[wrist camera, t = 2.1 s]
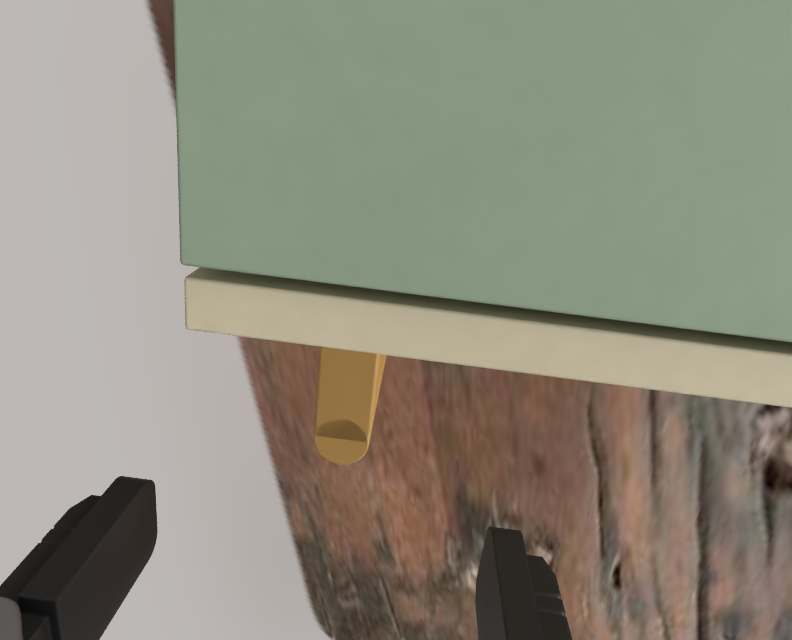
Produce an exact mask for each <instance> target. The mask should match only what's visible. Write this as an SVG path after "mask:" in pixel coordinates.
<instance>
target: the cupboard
mask: <svg viewBox="0 0 792 640" xmlns="http://www.w3.org/2000/svg"><path fill="white" fill-rule="evenodd" d="M173 9H174V45H175V81H176V117H177V150H178V151H177V152H178V187H179V188H178V189H179V223H180V256H181V257H180V260H181V264H183V265H188V266H196V267H203V268H211V269H219V270H227V271H235V272H243V273H251V274H259V275H266V276H274V277H282V278H290V279H298V280H306V281H314V282H321V283H329V284H337V285H345V286H353V287H361V288H369V289H377V290H384V291H392V292H400V293H408V294H416V295H424V296H432V297H439V298H447V299H455V300H463V301H471V302H479V303H487V304H495V305H502V306H510V307H518V308H526V309H534V310H542V311H550V312H557V313H565V314H573V315H581V316H589V317H597V318H605V319H613V320H620V321H628V322H636V323H644V324H652V325H660V326H668V327H675V328H683V329H691V330H699V331H707V332H715V333H723V334H731V335H738V336H746V337H754V338H762V339H770V340H778V341H786V342H792V0H173Z"/></svg>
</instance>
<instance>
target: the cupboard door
mask: <svg viewBox="0 0 792 640" xmlns="http://www.w3.org/2000/svg"><path fill="white" fill-rule="evenodd" d="M185 319H186V329H190V330H197V331H204V332H212V333H221V334H227V335H235V336H243V337H251V338H258V339H266V340H274V341H281V342H289V343H297V344H305V345H312V346H320V357H319V371H318V386H317V400H316V415H315V430H314V443H315V447H316V449H317V451H318V452H319V453H320V455H321V456H323V457H324V458H325V459H326V460H328V461H330V462H333V463H336V464H350V463H354V462H356V461H358V460H359V459H361V458H362V457H363V456H364V455H365V453H366V452H367V450H368V447H369V442H370V437H371V432H372V426H373V421H374V416H375V411H376V406H377V401H378V396H379V391H380V386H381V381H382V376H383V371H384V366H385V361H386V355H390V356H397V357H405V358H413V359H420V360H428V361H436V362H444V363H451V364H459V365H467V366H474V367H482V368H490V369H498V370H505V371H513V372H521V373H528V374H536V375H544V376H552V377H559V378H567V379H575V380H582V381H590V382H598V383H606V384H613V385H621V386H629V387H636V388H644V389H652V390H660V391H667V392H675V393H683V394H690V395H698V396H706V397H714V398H721V399H729V400H737V401H744V402H752V403H760V404H768V405H775V406H783V407H791V408H792V342H786V341H778V340H770V339H762V338H754V337H746V336H738V335H731V334H723V333H715V332H707V331H699V330H691V329H683V328H675V327H668V326H660V325H652V324H644V323H636V322H628V321H620V320H613V319H605V318H597V317H589V316H581V315H573V314H565V313H557V312H550V311H542V310H534V309H526V308H518V307H510V306H502V305H495V304H487V303H479V302H471V301H463V300H455V299H447V298H439V297H432V296H424V295H416V294H408V293H400V292H392V291H384V290H377V289H369V288H361V287H353V286H345V285H337V284H329V283H321V282H314V281H306V280H298V279H290V278H282V277H274V276H266V275H259V274H251V273H243V272H235V271H227V270H219V269H211V268H203V267H200V268H198V269H197V270H195V271H194V272H193V273H191V274H190V275H188V276H187V277H185Z"/></svg>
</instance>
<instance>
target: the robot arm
mask: <svg viewBox="0 0 792 640" xmlns="http://www.w3.org/2000/svg"><path fill="white" fill-rule="evenodd" d="M156 538H157V514H156V494H155V484H154V482H153V481H152V480H147V479H139V478H131V477H124V476H120V477H118V478H116V479H115V481H114V482H113V483H112V484H111V485H110V487H109V488H108V489H107V490H106V491H105V492H104V494H103V495H102V496H94V495H91V496H89V497H88V498H86V499H84V500H83V501H81V502H80V503H78V504H76V505H75V506H73V507H71V508H70V509H69V510H68V511H67V512H66V513H65V515H63V517H62V518H61V519H60V520H59V521H58V522H57V523H56V524H55V526H54V529H51V530H50V531H49V532H48V533H47V534H46V536H45V537H44V538H43V539H42V542H41V543H38V545H37V546H36V547H35V548H34V549H33V550H32V551H31V552H30V553H29V554H28V556H27V557H26V558H25V559H24V560H23V561H22V562H21V563H20V565H19V566H18V567H17V568H16V569H15V570H14V571H13V572H12V573H11V575H10V576H9V577H8V578H7V579H6V580H5V581H4V582H3V584H2V585H1V586H0V640H99V639H100V637H101V636H102V634H103V633H104V631H105V629H106V628H107V626H108V625H109V623H110V621H111V620H112V618H113V617H114V615H115V614H116V612H117V610H118V609H119V607H120V605H121V604H122V602H123V601H124V599H125V597H126V596H127V594H128V592H129V591H130V589H131V588H132V586H133V585H134V583H135V581H136V580H137V578H138V576H139V575H140V573H141V572H142V570H143V569H144V567H145V565H146V564H147V562H148V560H149V559H150V557H151V555H152V552H153V550H154V547H155V543H156ZM476 614H477V626H478V638H479V640H572V637H571V633H570V629H569V626H568V622H567V618H566V617H565V610H564V606H563V602H562V600H561V594H560V591H559V587H558V583H557V579H556V575H555V574H554V573H553V571H552V570H551V568H550V567H549V566H548V564H547V563H546V562H545V560H544V559H543V557H539V556H531V555H526V551H525V546H524V541H523V536H522V533H521V531H519V530H512V529H504V528H497V527H489V528H488V530H487V533H486V538H485V543H484V547H483V552H482V556H481V561H480V566H479V570H478V575H477V582H476Z"/></svg>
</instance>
